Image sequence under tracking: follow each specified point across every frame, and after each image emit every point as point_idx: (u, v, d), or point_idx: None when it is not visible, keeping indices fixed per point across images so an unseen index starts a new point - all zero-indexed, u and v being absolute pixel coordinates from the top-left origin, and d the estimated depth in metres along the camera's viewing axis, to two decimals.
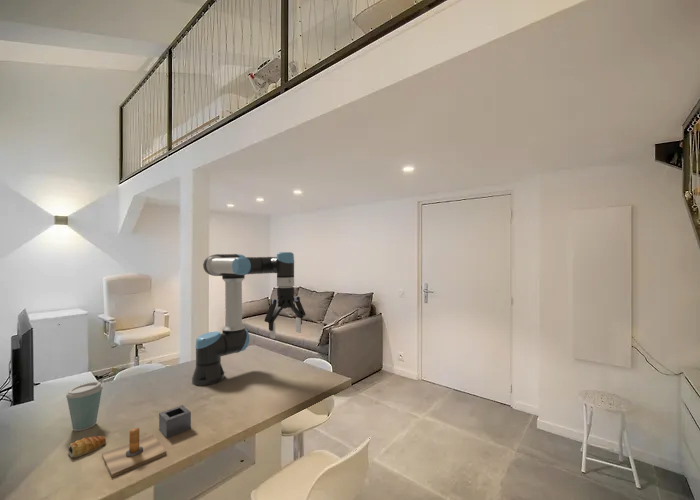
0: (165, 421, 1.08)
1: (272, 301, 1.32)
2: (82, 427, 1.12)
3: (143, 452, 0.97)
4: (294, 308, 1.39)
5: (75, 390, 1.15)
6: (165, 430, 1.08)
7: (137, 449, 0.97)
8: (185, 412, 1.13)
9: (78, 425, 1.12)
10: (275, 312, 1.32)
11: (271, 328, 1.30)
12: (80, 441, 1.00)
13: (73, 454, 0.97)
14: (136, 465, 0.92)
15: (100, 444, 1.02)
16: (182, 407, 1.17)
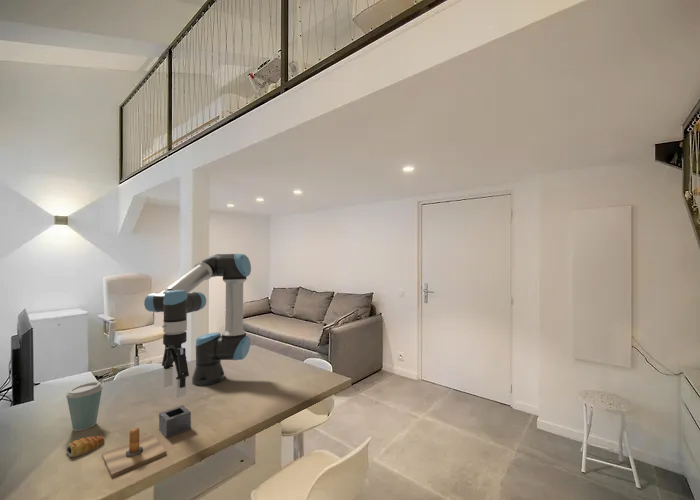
0: (165, 421, 1.08)
1: None
2: (82, 427, 1.12)
3: (143, 452, 0.97)
4: None
5: (75, 390, 1.15)
6: (165, 430, 1.08)
7: (137, 449, 0.97)
8: (185, 412, 1.13)
9: (78, 425, 1.12)
10: None
11: None
12: (79, 441, 1.00)
13: (72, 454, 0.97)
14: (136, 465, 0.92)
15: (98, 444, 1.03)
16: (182, 407, 1.17)
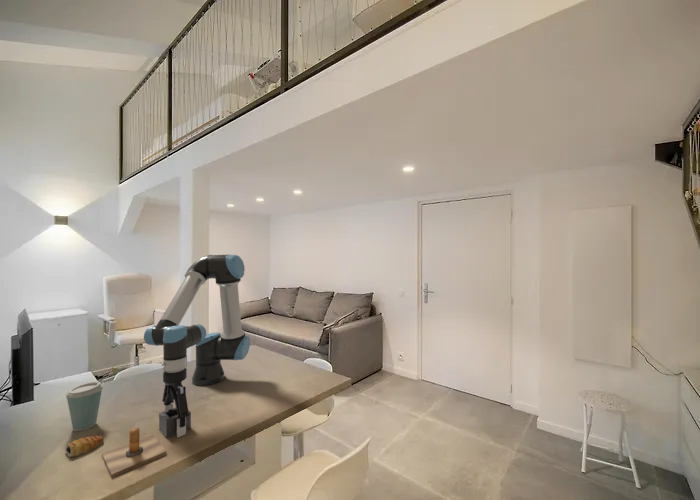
0: (165, 421, 1.08)
1: None
2: (82, 427, 1.12)
3: (143, 452, 0.97)
4: None
5: (75, 390, 1.15)
6: (165, 430, 1.08)
7: (137, 449, 0.97)
8: None
9: (78, 425, 1.12)
10: None
11: (165, 410, 1.17)
12: (78, 441, 1.00)
13: (71, 454, 0.97)
14: (136, 465, 0.92)
15: (98, 443, 1.03)
16: None
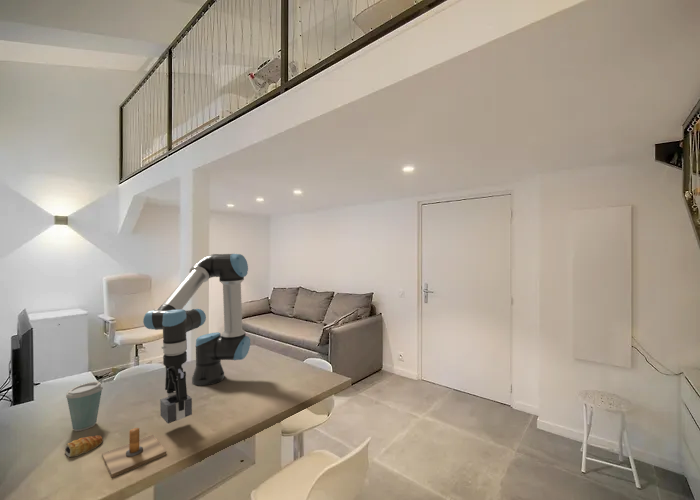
0: (166, 407, 1.09)
1: None
2: (82, 427, 1.12)
3: (143, 452, 0.97)
4: (174, 384, 1.11)
5: (75, 390, 1.15)
6: (166, 416, 1.08)
7: (137, 449, 0.97)
8: None
9: (78, 425, 1.12)
10: None
11: None
12: (77, 441, 1.00)
13: (71, 454, 0.97)
14: (136, 465, 0.92)
15: (97, 443, 1.03)
16: None
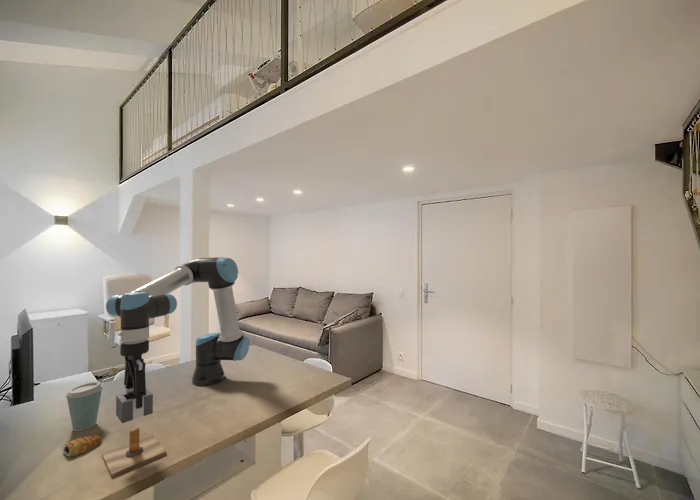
0: (121, 404, 0.93)
1: None
2: (82, 427, 1.12)
3: (143, 452, 0.97)
4: (132, 377, 0.96)
5: (75, 390, 1.15)
6: (121, 414, 0.93)
7: (137, 449, 0.97)
8: (146, 394, 0.98)
9: (78, 425, 1.12)
10: None
11: None
12: (76, 441, 1.00)
13: (70, 453, 0.97)
14: (136, 465, 0.92)
15: (96, 443, 1.03)
16: None
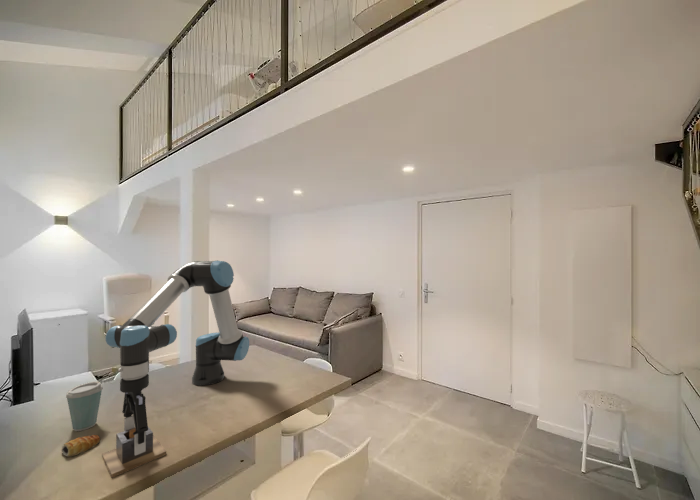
0: (121, 445, 0.93)
1: None
2: (82, 427, 1.12)
3: None
4: (133, 412, 0.95)
5: (75, 390, 1.15)
6: (121, 455, 0.93)
7: None
8: (146, 433, 0.98)
9: (78, 425, 1.12)
10: None
11: None
12: (74, 440, 1.00)
13: (69, 453, 0.97)
14: (136, 465, 0.92)
15: (95, 442, 1.03)
16: None
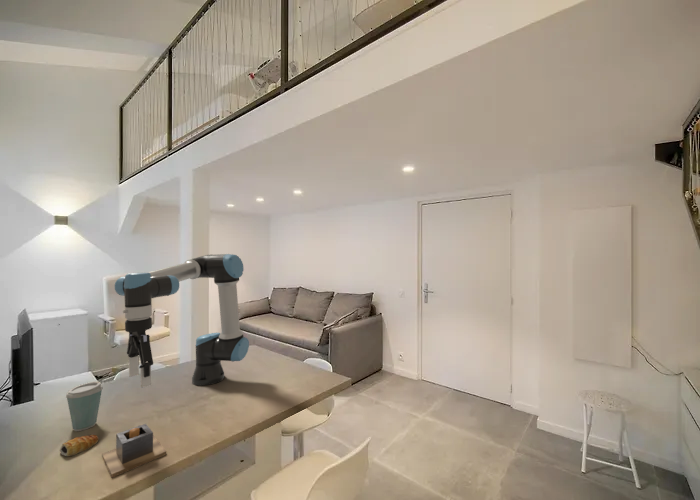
0: (121, 445, 0.93)
1: None
2: (82, 427, 1.12)
3: None
4: (138, 350, 1.01)
5: (75, 390, 1.15)
6: (121, 455, 0.93)
7: None
8: (146, 433, 0.98)
9: (78, 425, 1.12)
10: None
11: None
12: (73, 440, 1.01)
13: (68, 453, 0.97)
14: (136, 465, 0.92)
15: (93, 442, 1.03)
16: (144, 426, 1.02)
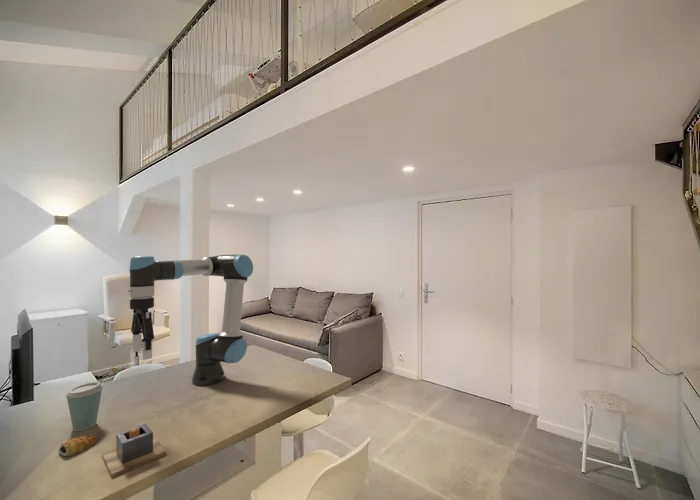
0: (121, 445, 0.93)
1: None
2: (82, 427, 1.12)
3: None
4: (141, 326, 1.11)
5: (75, 390, 1.15)
6: (121, 455, 0.93)
7: None
8: (146, 433, 0.98)
9: (78, 425, 1.12)
10: None
11: None
12: (72, 440, 1.01)
13: (67, 453, 0.97)
14: (136, 465, 0.92)
15: (92, 442, 1.04)
16: (144, 426, 1.02)
